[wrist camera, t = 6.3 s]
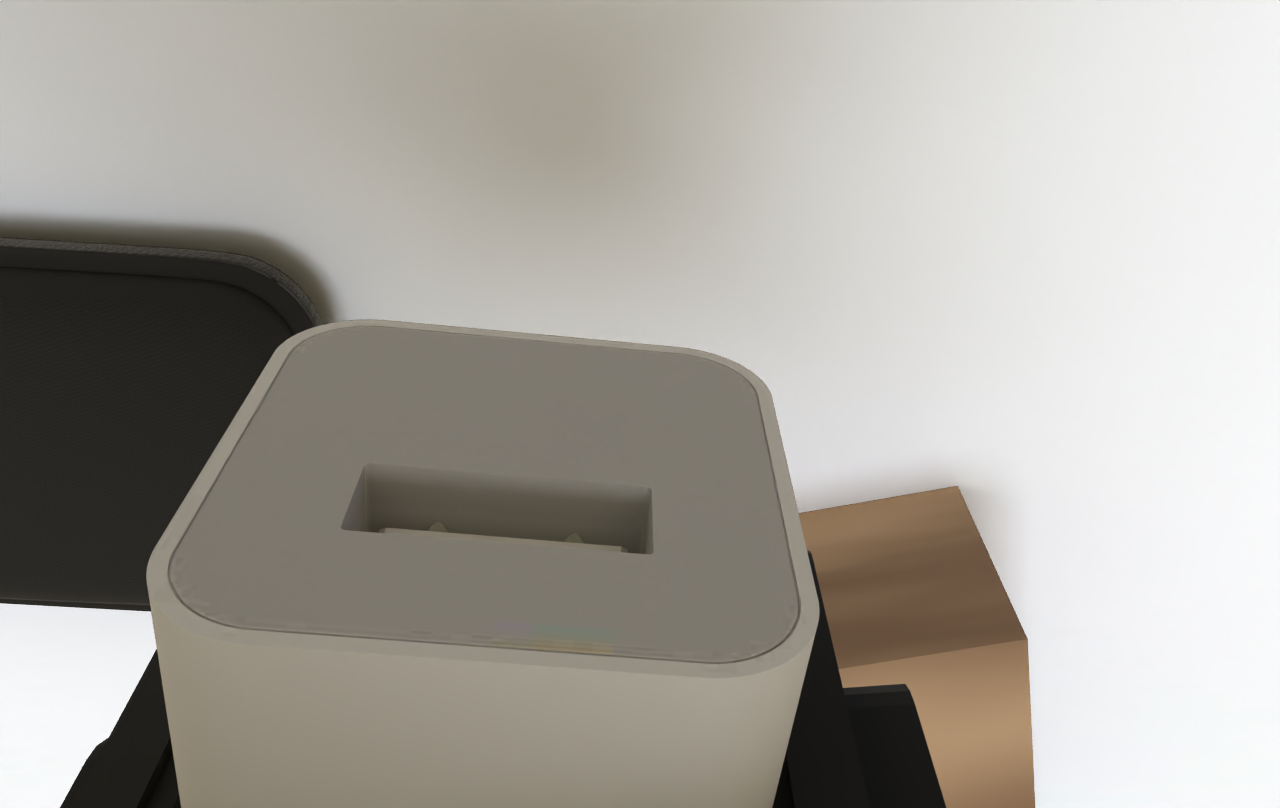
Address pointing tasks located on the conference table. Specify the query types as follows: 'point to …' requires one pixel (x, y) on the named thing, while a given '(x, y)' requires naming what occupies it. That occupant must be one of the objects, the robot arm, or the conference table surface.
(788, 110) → the conference table surface
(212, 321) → the carrying case or bag
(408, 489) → the usb wall charger
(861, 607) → the walnut block
